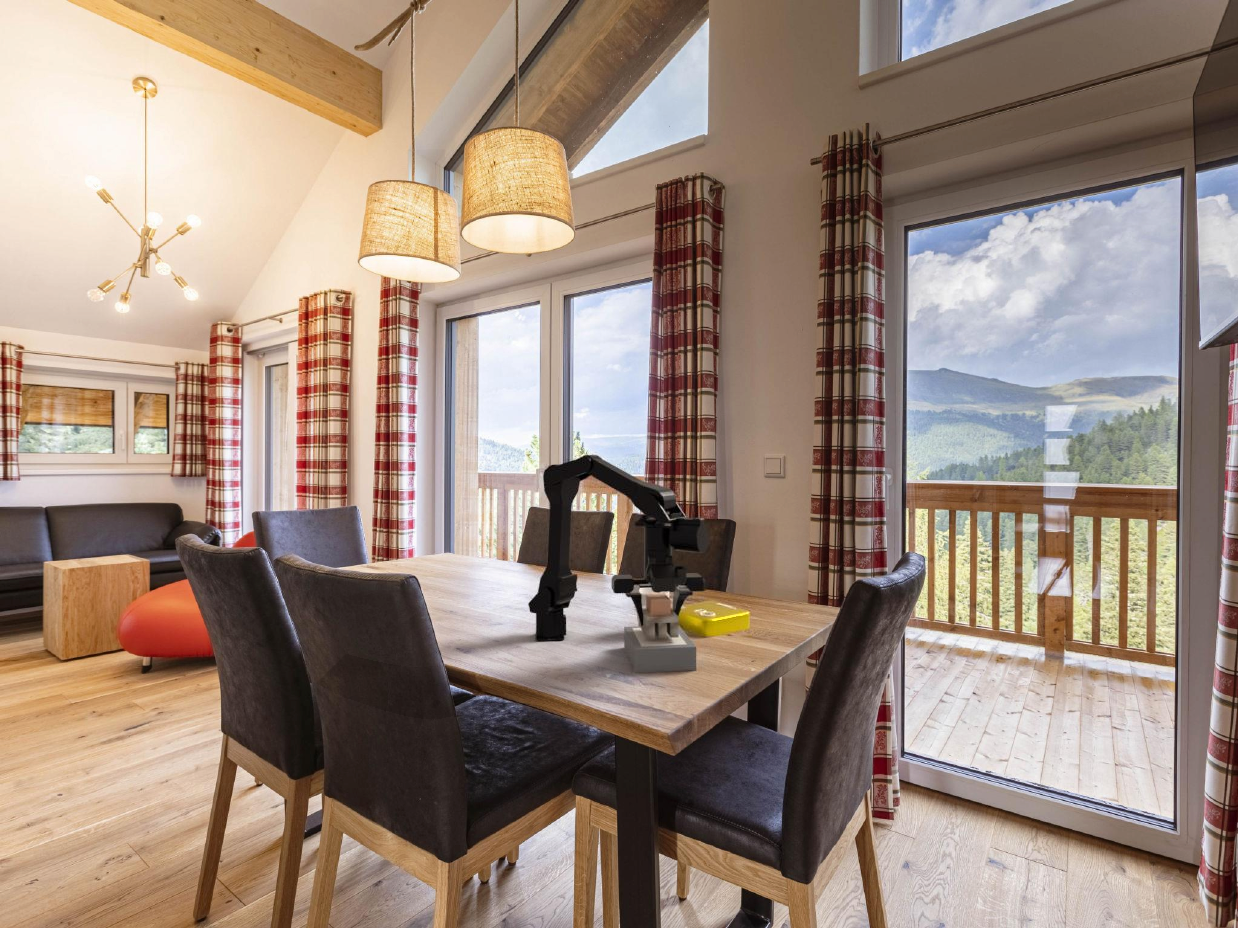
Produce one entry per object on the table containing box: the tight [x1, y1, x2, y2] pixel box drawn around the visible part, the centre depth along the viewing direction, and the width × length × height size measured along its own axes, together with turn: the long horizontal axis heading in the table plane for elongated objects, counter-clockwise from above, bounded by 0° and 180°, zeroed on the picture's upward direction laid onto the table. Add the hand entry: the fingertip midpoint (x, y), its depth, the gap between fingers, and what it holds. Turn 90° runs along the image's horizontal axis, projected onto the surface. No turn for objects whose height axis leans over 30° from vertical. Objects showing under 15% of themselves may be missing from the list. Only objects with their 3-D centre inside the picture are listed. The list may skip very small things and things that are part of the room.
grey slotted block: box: [639, 606, 679, 638], centre depth 127 cm, size 6×10×4 cm, turn 7°
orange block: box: [646, 593, 672, 615], centre depth 127 cm, size 4×6×3 cm, turn 7°
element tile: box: [671, 600, 751, 638], centre depth 152 cm, size 15×15×5 cm
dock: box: [623, 625, 697, 674], centre depth 128 cm, size 12×16×5 cm
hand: (657, 624), depth 128 cm, fingers closed on grey slotted block, 6 cm apart
